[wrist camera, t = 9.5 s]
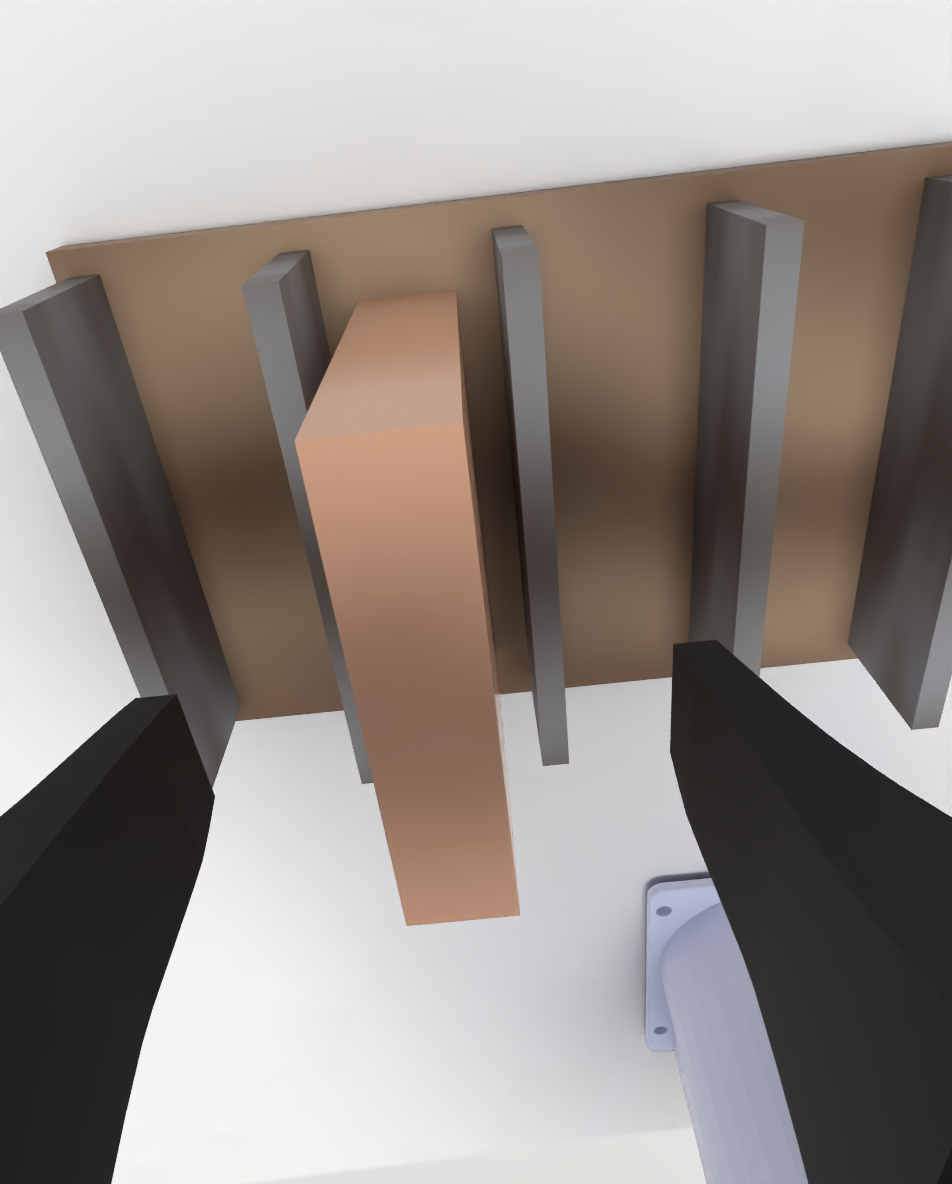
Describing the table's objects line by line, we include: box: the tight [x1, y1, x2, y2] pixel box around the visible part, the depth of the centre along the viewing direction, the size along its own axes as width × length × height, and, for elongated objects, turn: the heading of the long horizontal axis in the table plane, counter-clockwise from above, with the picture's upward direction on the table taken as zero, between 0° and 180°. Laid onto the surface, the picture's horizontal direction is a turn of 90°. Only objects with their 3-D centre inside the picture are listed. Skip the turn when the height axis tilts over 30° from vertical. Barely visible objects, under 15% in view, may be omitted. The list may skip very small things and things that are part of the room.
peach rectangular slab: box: [295, 290, 520, 926], centre depth 15 cm, size 9×2×8 cm, turn 6°
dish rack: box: [0, 142, 952, 788], centre depth 17 cm, size 12×18×4 cm, turn 96°
